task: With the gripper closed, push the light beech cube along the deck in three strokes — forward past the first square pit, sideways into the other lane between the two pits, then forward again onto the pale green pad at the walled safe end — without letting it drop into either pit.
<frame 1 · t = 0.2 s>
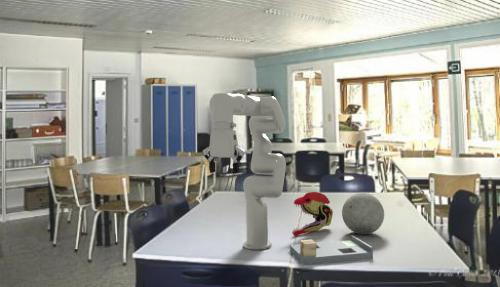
hand: (224, 172, 155), 37 cm above the table, tool pointing down, fingers open, 9 cm apart
beech cube: (308, 254, 166), point 2 cm above the table, touching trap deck
decorative sphere: (363, 234, 203), on the table
toy: (312, 232, 208), on the table
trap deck: (328, 254, 172), on the table
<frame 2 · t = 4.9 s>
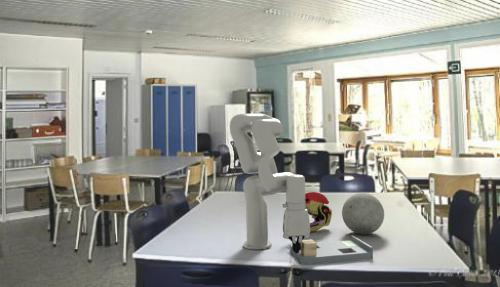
hand: (296, 252, 165), 4 cm above the table, tool pointing down, fingers closed
beech cube: (308, 253, 166), point 3 cm above the table, touching gripper
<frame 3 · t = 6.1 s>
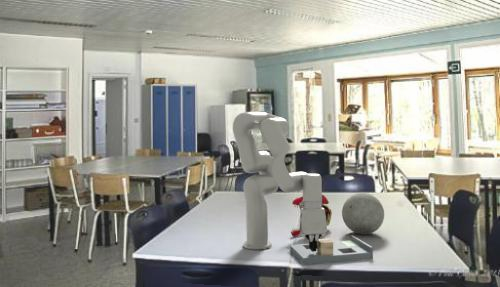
hand: (313, 250, 166), 4 cm above the table, tool pointing down, fingers closed
beech cube: (325, 252, 167), point 3 cm above the table, touching gripper, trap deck
everything else where it was.
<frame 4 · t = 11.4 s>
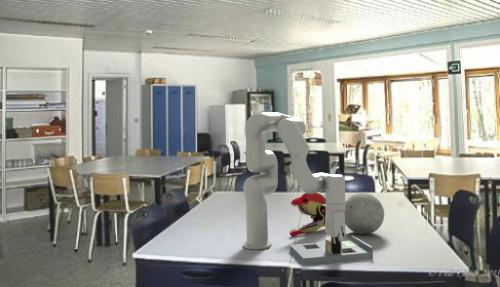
hand: (336, 252, 163), 4 cm above the table, tool pointing down, fingers closed
beech cube: (333, 251, 168), point 3 cm above the table, touching gripper
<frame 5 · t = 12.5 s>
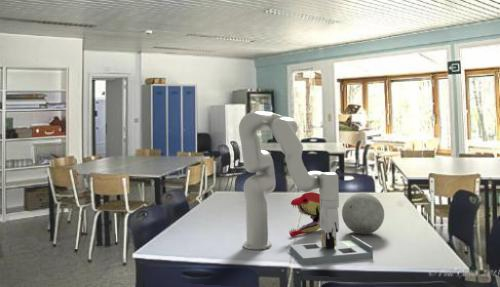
hand: (330, 248, 169), 4 cm above the table, tool pointing down, fingers closed
beech cube: (329, 246, 173), point 3 cm above the table, tilted 19°, touching gripper, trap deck
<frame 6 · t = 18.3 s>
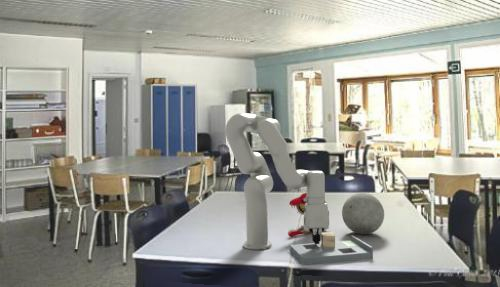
hand: (316, 243, 176), 4 cm above the table, tool pointing down, fingers closed
beech cube: (328, 245, 176), point 3 cm above the table, touching gripper, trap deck
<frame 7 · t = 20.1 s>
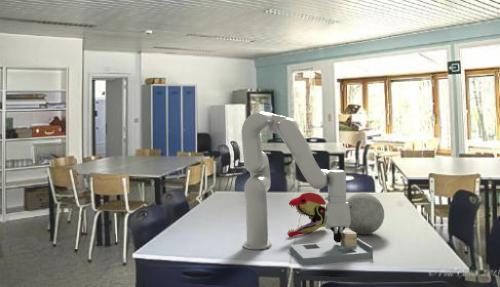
hand: (337, 241, 178), 4 cm above the table, tool pointing down, fingers closed
beech cube: (348, 243, 179), point 3 cm above the table, touching gripper, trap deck
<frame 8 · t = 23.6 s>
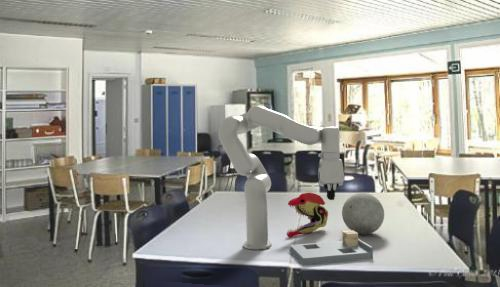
hand: (330, 199, 176), 22 cm above the table, tool pointing down, fingers closed
beech cube: (350, 243, 179), point 2 cm above the table, touching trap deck
at the end: beech cube 0.5 cm from the target spot on the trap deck, point 2.5 cm above the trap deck's base; beech cube tilted 0° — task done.
